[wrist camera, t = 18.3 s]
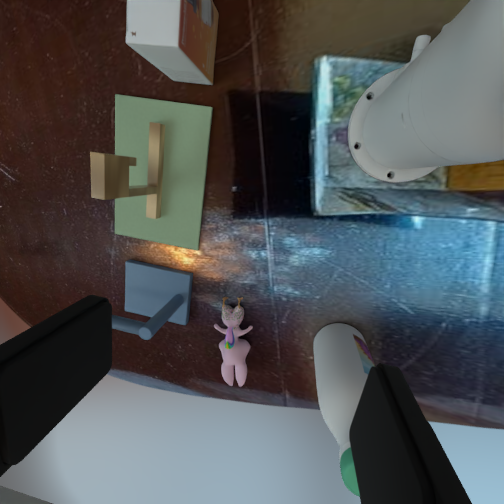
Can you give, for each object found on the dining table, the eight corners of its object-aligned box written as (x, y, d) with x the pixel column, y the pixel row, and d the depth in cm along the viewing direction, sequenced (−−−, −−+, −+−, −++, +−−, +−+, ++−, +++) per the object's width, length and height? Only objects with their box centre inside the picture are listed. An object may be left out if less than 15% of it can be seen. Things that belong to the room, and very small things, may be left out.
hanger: (154, 123, 37) (88, 99, 26) (165, 125, 37) (104, 101, 25) (150, 215, 41) (91, 231, 29) (160, 217, 41) (105, 233, 29)
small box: (213, 86, 35) (179, 50, 25) (173, 81, 36) (124, 44, 26) (220, 12, 33) (185, -61, 23) (177, 8, 33) (124, -64, 23)
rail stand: (130, 259, 44) (75, 285, 33) (193, 272, 43) (157, 304, 32) (129, 307, 47) (78, 346, 36) (188, 321, 45) (154, 366, 35)
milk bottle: (311, 361, 43) (320, 505, 24) (315, 318, 41) (327, 439, 22) (361, 367, 42) (411, 524, 23) (368, 324, 40) (429, 456, 21)
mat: (116, 94, 37) (115, 94, 37) (212, 107, 36) (211, 107, 35) (116, 233, 43) (114, 233, 43) (198, 249, 41) (197, 250, 41)
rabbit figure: (217, 293, 44) (220, 378, 46) (204, 304, 39) (208, 401, 40) (254, 294, 43) (256, 381, 45) (247, 305, 37) (249, 405, 39)
